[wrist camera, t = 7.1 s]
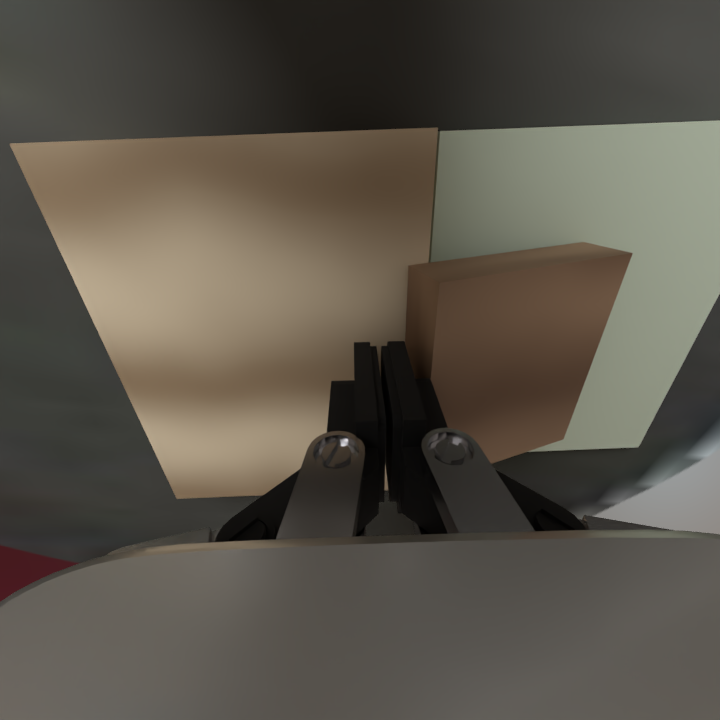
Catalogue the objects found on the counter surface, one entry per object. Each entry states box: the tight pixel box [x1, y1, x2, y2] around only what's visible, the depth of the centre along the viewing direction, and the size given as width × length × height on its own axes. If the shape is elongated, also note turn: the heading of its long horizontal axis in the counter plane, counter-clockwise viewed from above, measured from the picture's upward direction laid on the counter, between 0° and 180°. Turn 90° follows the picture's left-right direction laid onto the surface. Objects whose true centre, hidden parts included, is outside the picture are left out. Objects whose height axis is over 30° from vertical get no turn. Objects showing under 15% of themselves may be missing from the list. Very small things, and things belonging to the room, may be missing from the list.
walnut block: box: [405, 242, 633, 464], centre depth 13 cm, size 8×7×2 cm
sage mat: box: [429, 121, 720, 452], centre depth 14 cm, size 14×12×1 cm
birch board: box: [10, 128, 438, 499], centre depth 14 cm, size 14×11×2 cm
